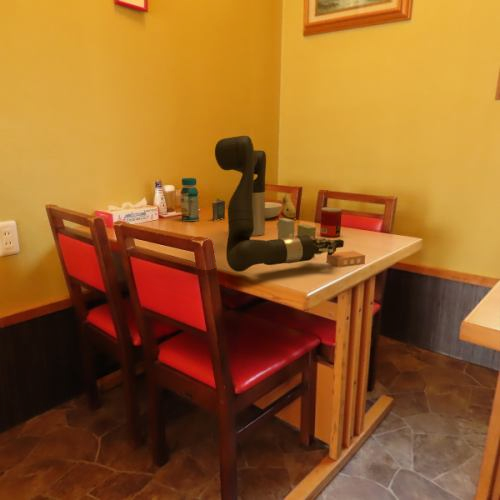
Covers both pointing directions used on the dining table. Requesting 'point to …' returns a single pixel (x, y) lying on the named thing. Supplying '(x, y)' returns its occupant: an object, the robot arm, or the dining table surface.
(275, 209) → the serving bowl
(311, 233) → the digit tile 2
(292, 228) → the digit tile 1
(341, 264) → the digit tile 3
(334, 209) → the canned food
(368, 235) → the dining table surface
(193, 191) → the beverage bottle
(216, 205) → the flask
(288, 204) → the yellow pear
